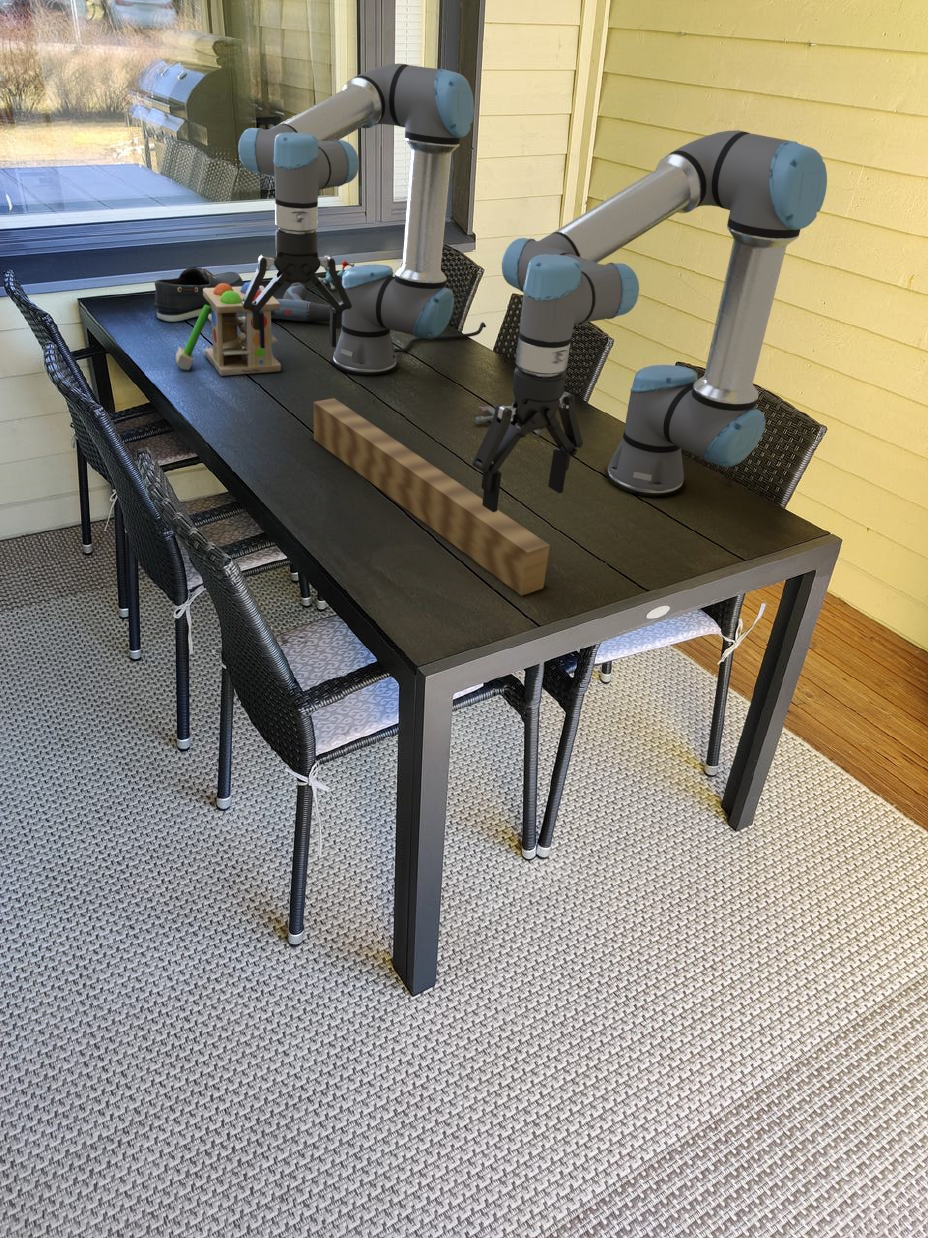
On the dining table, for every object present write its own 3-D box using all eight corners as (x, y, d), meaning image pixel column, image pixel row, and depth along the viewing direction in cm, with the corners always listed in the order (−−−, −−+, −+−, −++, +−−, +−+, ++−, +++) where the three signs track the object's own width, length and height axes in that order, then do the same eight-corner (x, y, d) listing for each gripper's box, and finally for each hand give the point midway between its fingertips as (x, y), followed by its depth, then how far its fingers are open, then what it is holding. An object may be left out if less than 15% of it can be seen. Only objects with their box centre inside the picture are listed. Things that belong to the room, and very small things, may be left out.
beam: (313, 439, 200) (313, 401, 196) (333, 435, 203) (334, 397, 198) (521, 595, 158) (527, 552, 153) (543, 588, 160) (550, 545, 156)
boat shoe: (262, 300, 274) (260, 262, 268) (174, 323, 250) (170, 282, 245) (229, 292, 279) (226, 254, 274) (139, 314, 256) (134, 273, 250)
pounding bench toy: (183, 379, 220) (176, 299, 210) (169, 357, 231) (162, 280, 221) (282, 371, 230) (280, 294, 220) (264, 350, 240) (262, 276, 230)
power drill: (344, 304, 276) (335, 327, 259) (277, 298, 275) (264, 321, 258) (344, 285, 273) (335, 306, 256) (277, 279, 272) (264, 300, 255)
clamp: (466, 408, 215) (505, 402, 219) (466, 417, 216) (504, 412, 220) (502, 435, 204) (542, 429, 209) (501, 445, 205) (541, 438, 210)
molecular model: (345, 281, 281) (333, 247, 280) (317, 294, 285) (306, 260, 284) (362, 284, 292) (350, 251, 291) (335, 296, 296) (324, 263, 294)
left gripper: (228, 232, 170) (233, 352, 181) (369, 235, 177) (365, 350, 189) (223, 222, 175) (229, 339, 187) (360, 225, 183) (357, 337, 194)
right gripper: (489, 390, 133) (475, 527, 145) (619, 364, 147) (596, 491, 159) (456, 372, 138) (445, 506, 150) (585, 348, 152) (565, 473, 163)
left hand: (297, 345), depth 188 cm, fingers open, 13 cm apart
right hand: (523, 498), depth 154 cm, fingers open, 13 cm apart
